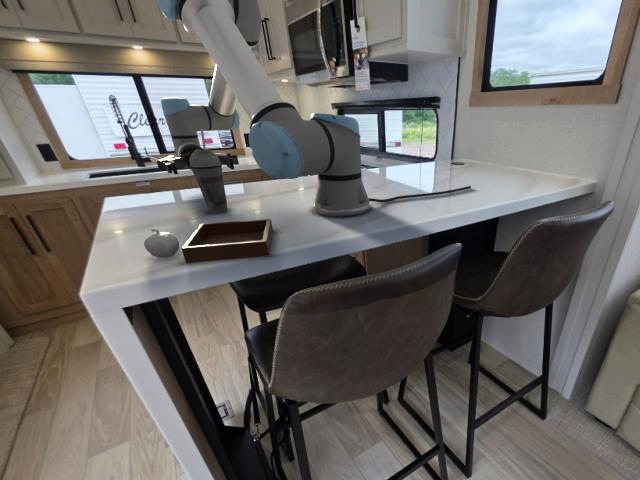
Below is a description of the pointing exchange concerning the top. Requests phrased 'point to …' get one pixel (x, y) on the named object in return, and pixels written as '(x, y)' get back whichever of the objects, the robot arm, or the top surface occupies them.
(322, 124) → the robot arm
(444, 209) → the top surface
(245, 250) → the tray
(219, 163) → the beverage cup
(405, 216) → the top surface
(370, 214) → the top surface
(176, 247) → the grey pumpkin
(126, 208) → the top surface
